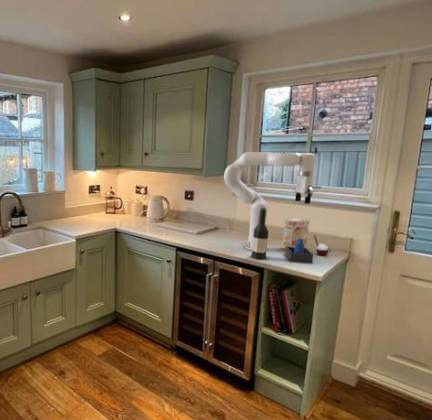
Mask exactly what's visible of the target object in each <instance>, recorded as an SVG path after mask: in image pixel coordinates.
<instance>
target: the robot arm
mask: <svg viewBox="0 0 432 420" xmlns="http://www.w3.org/2000/svg"><path fill="white" fill-rule="evenodd" d="M315 158H316V157H315V154H314V153H307V152H306V153H297V152H272V151H247V152H244V153H242V154H241V156H240V157H239V158H237V159H236V160H234V162H233V163H232V164H229V165H227V167H226V168H225V169H224V172H223V181H224V183H225V185H226V186H227V188H228V189H229V190H231V192H232V193H233V194H234V195H235V196H236V197H237V198H238V199H239V200H240V201H241V202H242V203H244V204H246V205H248V206H249V207H250V217H249V228H248V229H249V230H248V231H249V232H248V239H247V240H246V241H243V240H241V241H240V245H243V246H244V248H245V249H247V250H249V251H252V246H253V235H254V229H255V227H256V226H257V225H258V224H259V216H260V209H261V208H265V210H266V217H265V226H266V227H267V215H268V203H267V201H266V200H265V199H264V198H263V197H262V196H261V195H260V194H259V193H258V192H257V191H256V190H254V188H252V187H248V186H247V185H246V184H245V183H244V182H243V181H242V180H241V179H240V178H239V176H240V175H241V174H242V173H243V172H245V171H246V170H247V169H248V168H249V167H251V166H252V167H260V166H261V167H274V166H275V167H276V166H277V167H278V166H279V167H295V166H297V165H298V166H299V167H298V173H297V174H298V175H297V178H296V182H295V186H294V194H295V198H294V201H295V202H301V200H302V194H304V195H305V196H304V205H305V204H306V205H310V204H311V200H312V196H313V193H314V188H313V176H314V164H315Z"/></svg>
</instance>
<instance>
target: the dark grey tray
mask: <svg viewBox="0 0 432 420" xmlns="http://www.w3.org/2000/svg"><path fill="white" fill-rule="evenodd" d="M294 248H295V247H286V249H285V252H284V255H285V256H286V257H287V259H288V260H289V261H290V262H297V263H308V264H312V263H313V259H314V254H313V253H312V252H311V251H310V250H309V249H308V248H307V247H306V248H304V253H294Z"/></svg>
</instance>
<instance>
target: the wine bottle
mask: <svg viewBox="0 0 432 420" xmlns="http://www.w3.org/2000/svg"><path fill="white" fill-rule="evenodd" d="M265 217H266V210H265V208H261V209H260V216H259V224H258V225H257V226H256V227H255V229H254V235H253V246H252V250H251V258H252V259H254V260H260V261H261V260H266V259H267V249H268V240H269V230H268V228H267V225H266V226H265ZM266 218H267V217H266Z"/></svg>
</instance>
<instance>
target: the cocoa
mask: <svg viewBox="0 0 432 420" xmlns="http://www.w3.org/2000/svg"><path fill="white" fill-rule="evenodd" d="M313 237H314V241H315V243H316V248H315V249H316V253H317V255H319V256H326V255H328V254H330V253H331V250H330V249H329V247H328V246H327V245H325V244H324V243H318V240H317V237H316V234H315V235H313Z"/></svg>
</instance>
